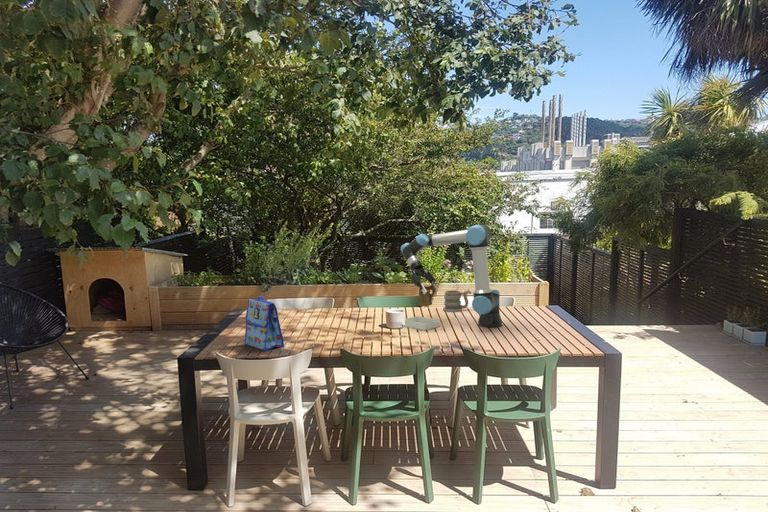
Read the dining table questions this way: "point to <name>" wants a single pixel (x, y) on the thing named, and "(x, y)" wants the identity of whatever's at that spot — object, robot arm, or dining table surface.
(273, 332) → the lunch bag
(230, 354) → the dining table surface
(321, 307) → the dining table surface
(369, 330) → the dining table surface
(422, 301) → the wooden mug
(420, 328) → the mug tray
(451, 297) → the tankard
